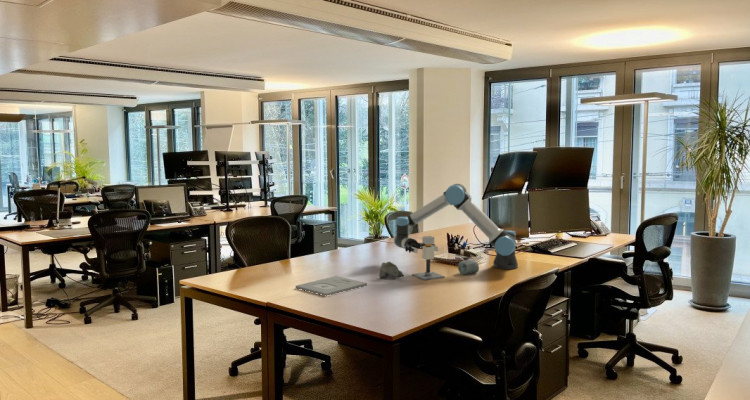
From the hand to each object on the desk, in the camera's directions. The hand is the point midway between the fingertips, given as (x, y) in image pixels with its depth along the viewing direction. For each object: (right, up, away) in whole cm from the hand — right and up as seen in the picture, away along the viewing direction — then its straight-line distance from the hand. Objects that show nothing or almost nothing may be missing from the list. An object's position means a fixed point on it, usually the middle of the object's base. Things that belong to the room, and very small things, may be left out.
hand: (427, 250), depth 330 cm
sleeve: (0, -5, 0) cm, 5 cm away
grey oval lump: (+25, -15, +8) cm, 30 cm away
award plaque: (-54, -19, -22) cm, 62 cm away
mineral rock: (-21, -17, -4) cm, 27 cm away
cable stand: (+1, -16, +1) cm, 16 cm away
